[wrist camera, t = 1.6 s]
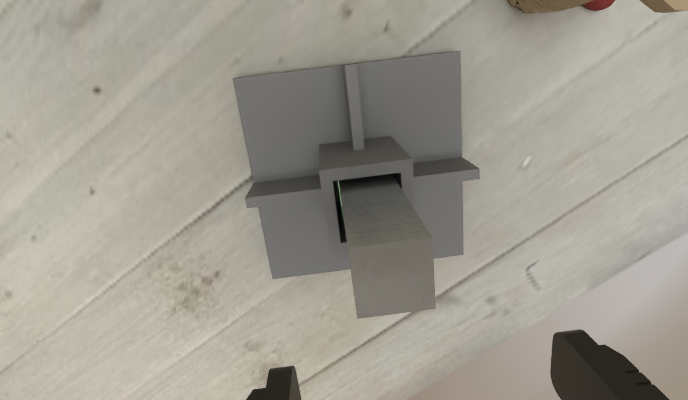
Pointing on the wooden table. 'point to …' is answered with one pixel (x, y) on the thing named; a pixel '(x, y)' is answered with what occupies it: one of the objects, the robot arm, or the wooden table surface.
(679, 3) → the handle
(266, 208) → the stand
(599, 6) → the pliers
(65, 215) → the wooden table surface
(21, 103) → the wooden table surface
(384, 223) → the column
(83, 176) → the wooden table surface
